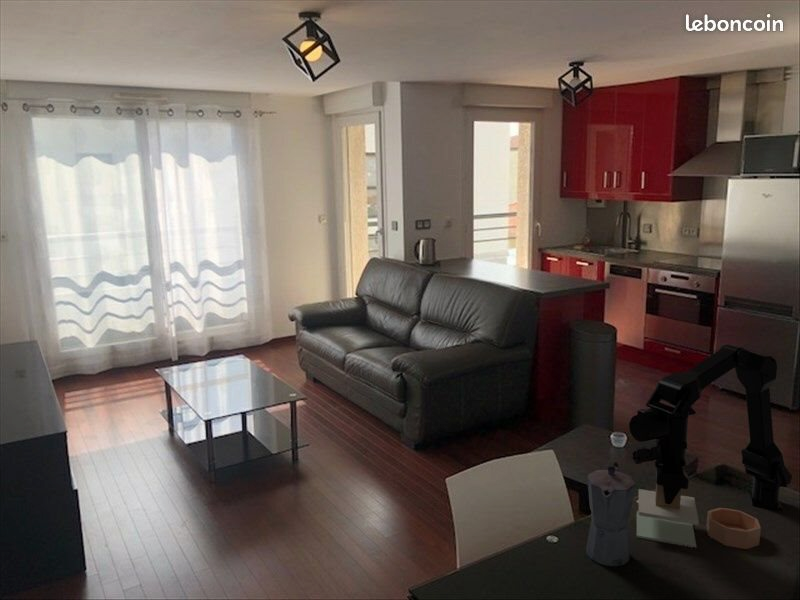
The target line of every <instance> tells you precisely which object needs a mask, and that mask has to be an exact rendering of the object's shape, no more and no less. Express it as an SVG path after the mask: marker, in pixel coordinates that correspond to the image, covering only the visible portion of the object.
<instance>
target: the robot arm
mask: <svg viewBox="0 0 800 600" xmlns="http://www.w3.org/2000/svg"><path fill="white" fill-rule="evenodd" d="M733 369H735V374H736V377H737V379H738V380H739V382H740V383H741V385H742V386H743V387H744V389H745V397H746V398H745V399H746V400H745V401H746V409H747V410H746V411H747V421H748V432H749V443H748V444H747V445H746V447H745V448H743V449H741V455H742V456H741V458H742V461H741V464H742V465H743V466H744V470H745V475H749V476H752V477H753V485H752V492H748V497H749V499H750V502H751V504H752V506H755V507H762V508H768V509H774V510H779V511H782V510H783V505H782V504H781V502H780V494H781V493H780V491H781V487H782V488H787V487H788V485H790V484H791V481H792V478H793V475H792V474H791V473H790V471H789V469H787V467H786V466H785V461H784V456H783V453H782V451H781V450H780V449H779V447H778V446H777V445H776V443H775V442H774V430H773V417H772V406H771V405H772V404H771V403H772V402H771V392H770V389H771V386H772V385H773V383H774V382H775V381H776V380H777V374H778V373H777V370H778V364H777V360H776V358H774V357H772V356H771V355H767V354H763V353H758V352H755V351H754V352H753V351H749V350H747V349H746V348H744V347H741V346H737V345H733V344H730V343H729V344H723V345H721V347H720V348H719V349H718V350H717V351H716V352H714V353H713V354H711V355H709V356H708V357H707V358H705V359H703V360H702V361H701V362H699V363H697V364H696V365H695V366H692V367H691V368H690V369H688V370H686V371H682V372H675V373H672V374H669V375H667V376H663V377H662V378H661V379H660V380H659V381H658V384H657V386H656V387H655V389H654V390H653V391H652V394H651V396H650V397H649V399H648V401H647V402H646V404H645V406H646V407H647V408H646V409H645V408H640V409H637V412H636V413H637V414H635V415H633V416H632V417H631V418H630V420H629V422H628V428H629V432H630V434H631V436H632V438H633V439H635V440H636V441H637V442H636V443H632V444H631V445H630V453H631V456H632V460H633V463H634V464H635V465H641V464H642V463H647V462H654V466H655V468H656V469H655V470H656V472H655V485H656V484H658V485H661V486H663V490H664V497H665V503H666V504H671V503H672V501H673V500H674V498H675V497H676V495H677V494H678V492H679V491H680V489H681V490H682V489H683V490H687V489H689V481H690V479H689V474H688V473H687V472H686V471H685V469H684V467H685V468H686V462H687V461H686V450H687V449H688V442H687V441H688V440H687V439H688V438H687V437H688V427H689V426H688V424H689V416H692V415H696V413H697V412H696V410H695V409H694V408H692V406H693V405H694V404H695V403H696V402H697V401H699V399H701V395H702V392H703V390H704V389H705V388H706V387H708V386H710V385H712V383H714V382H715V381H717V380H718V379H719V378H721V377H723V376H724V375H725V374H728V372H730V371H731V370H733ZM663 402H664V403H663ZM668 404H670V405H668Z"/></svg>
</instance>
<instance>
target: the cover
mask: <svg viewBox="0 0 800 600" xmlns="http://www.w3.org/2000/svg"><path fill="white" fill-rule="evenodd" d="M638 511H639V515H640V516H646V517H652V518H658V519H664V520H670V521H676V522H682V523H688V524H693V526H694V525H695V526H699V524H700V523H699V522H700V520H699V516H698V515H699V514H698V511H697V506H696V500H695V497H692V496H687V495H682V489H680V491H679V492H678V494H677V495H676V497H675V498H674V500H673V501H672V503H671V504H666V503H665V497H664V490H663V486H661V485H658V484H656V483H655V491H653V490H648V489H642V488H641V489H640V488H638Z"/></svg>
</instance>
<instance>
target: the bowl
mask: <svg viewBox="0 0 800 600" xmlns="http://www.w3.org/2000/svg"><path fill="white" fill-rule="evenodd" d="M706 516H707V518H706V527H707V528H706V532H707V535H708V537H709V536H710V537H709V538H711V539H712V538H713V540H714V539H715V540H714V541H716V540H717V541H716V542H718V541H719V542H718V543H720V544H721V543H722V545H723V546H725V545H726V547H732V548H738V549H744V550H748V549H751V548H754V547H757V546H760V539H761V530H762V528H761V525H760V524H761V523H760V522H759V520H758V518H756V517H755V516H752V515H750V514H748V513H745V512H744V511H742V510H739V509H732V508H724V507H718V508H715V509H710V510H708V511H707V515H706Z"/></svg>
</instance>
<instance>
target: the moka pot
mask: <svg viewBox="0 0 800 600" xmlns="http://www.w3.org/2000/svg"><path fill="white" fill-rule="evenodd" d="M586 479H587V491H588V501H589V502H588V503H589V510H590V511H591V521H590V526H589V527H590V528H589V532H588V538H587V542H586V548H585V553H586V555H587V556H588V558H589V559H590V560H592V561H593V562H595V563H597V564H599V565H603V566H606V567H621V566H623V565H626V564H627V563H628V562H629V561H630V558H631V555H630V554H631V552H630V543H629V534H628V518H629V517H630V516H631V511H632V506H633V502H634V501H633V500H634V496H635V492H636V486H637V484H636V482H635V481H634V479H633V478H632V476H631V475H629V474H626V473H624V472H621V471H620V468H619V464H618V462H614V463H613V465H611V466H607V469H597V470H594V471H593V472H591V473H589V474H588V475H587V477H586Z"/></svg>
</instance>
